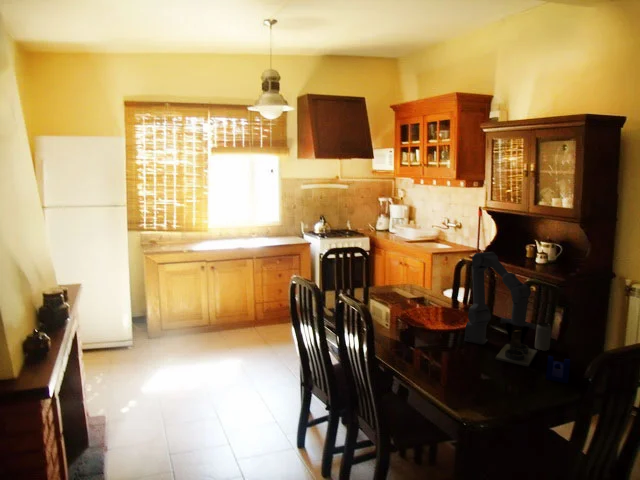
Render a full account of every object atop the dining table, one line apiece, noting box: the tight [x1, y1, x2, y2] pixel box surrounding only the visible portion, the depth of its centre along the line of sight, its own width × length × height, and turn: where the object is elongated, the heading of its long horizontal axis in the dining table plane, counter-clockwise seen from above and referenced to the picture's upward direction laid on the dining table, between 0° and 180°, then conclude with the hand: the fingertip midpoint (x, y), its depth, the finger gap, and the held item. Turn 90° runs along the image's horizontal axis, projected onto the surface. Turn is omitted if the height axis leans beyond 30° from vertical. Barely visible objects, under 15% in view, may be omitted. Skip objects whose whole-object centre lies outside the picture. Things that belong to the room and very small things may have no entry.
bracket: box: [545, 355, 571, 384], centre depth 223 cm, size 18×8×9 cm, turn 155°
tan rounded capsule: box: [510, 329, 522, 346], centre depth 236 cm, size 4×4×6 cm
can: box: [534, 321, 552, 352], centre depth 250 cm, size 6×6×12 cm
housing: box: [495, 343, 538, 367], centre depth 241 cm, size 14×20×3 cm
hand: (516, 341), depth 236 cm, fingers closed on tan rounded capsule, 4 cm apart
